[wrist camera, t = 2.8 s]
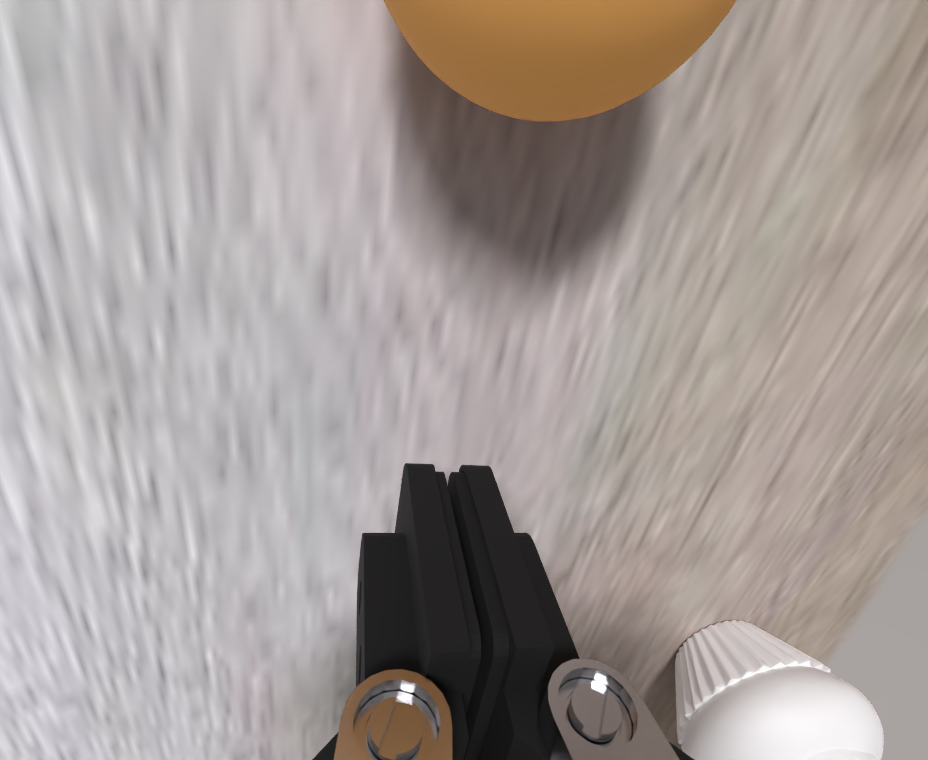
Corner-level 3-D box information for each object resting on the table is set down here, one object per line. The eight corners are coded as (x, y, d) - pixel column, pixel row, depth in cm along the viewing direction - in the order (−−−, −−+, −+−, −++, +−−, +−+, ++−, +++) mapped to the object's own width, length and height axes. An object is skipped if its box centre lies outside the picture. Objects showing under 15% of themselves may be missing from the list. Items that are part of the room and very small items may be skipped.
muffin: (718, 708, 22) (855, 946, 16) (604, 684, 20) (711, 951, 13) (826, 610, 20) (1034, 843, 13) (712, 572, 17) (897, 829, 11)
